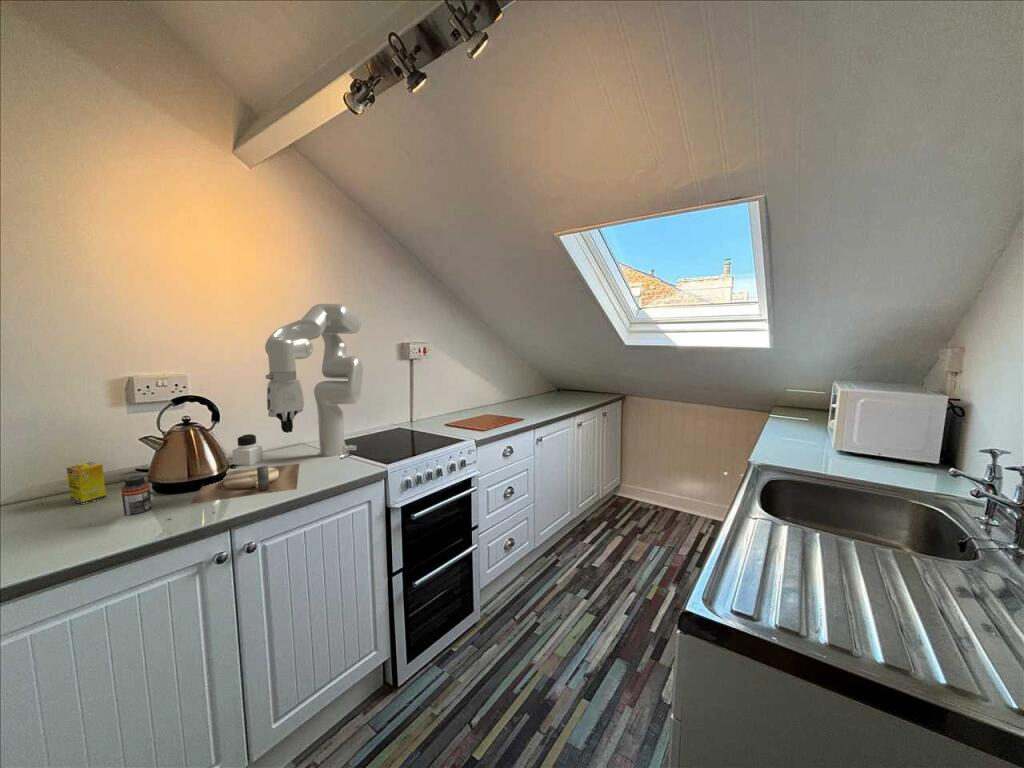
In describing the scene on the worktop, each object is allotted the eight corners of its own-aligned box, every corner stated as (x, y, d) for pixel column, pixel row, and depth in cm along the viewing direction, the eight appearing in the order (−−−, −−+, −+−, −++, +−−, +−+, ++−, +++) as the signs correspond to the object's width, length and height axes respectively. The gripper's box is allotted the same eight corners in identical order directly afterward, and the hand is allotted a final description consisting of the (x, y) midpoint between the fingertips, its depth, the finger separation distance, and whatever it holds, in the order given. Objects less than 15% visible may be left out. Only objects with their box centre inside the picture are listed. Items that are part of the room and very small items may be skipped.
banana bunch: (217, 479, 142) (215, 459, 141) (269, 468, 153) (268, 449, 152) (236, 497, 127) (234, 475, 126) (292, 483, 139) (290, 462, 138)
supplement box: (70, 502, 128) (65, 467, 126) (95, 494, 133) (91, 461, 132) (82, 505, 126) (77, 469, 124) (106, 497, 131) (102, 463, 130)
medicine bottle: (263, 463, 166) (261, 433, 164) (250, 469, 159) (248, 438, 157) (246, 462, 166) (244, 432, 165) (233, 468, 159) (230, 437, 158)
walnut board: (299, 467, 161) (299, 463, 161) (296, 493, 136) (296, 488, 136) (211, 477, 149) (211, 473, 149) (190, 508, 124) (190, 503, 124)
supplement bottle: (130, 513, 121) (125, 475, 119) (155, 509, 123) (151, 472, 121) (120, 521, 115) (115, 482, 114) (147, 518, 117) (143, 479, 116)
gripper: (264, 380, 128) (269, 438, 131) (311, 375, 140) (315, 428, 143) (253, 378, 132) (258, 434, 135) (299, 373, 144) (303, 425, 147)
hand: (287, 431), depth 139 cm, fingers closed
